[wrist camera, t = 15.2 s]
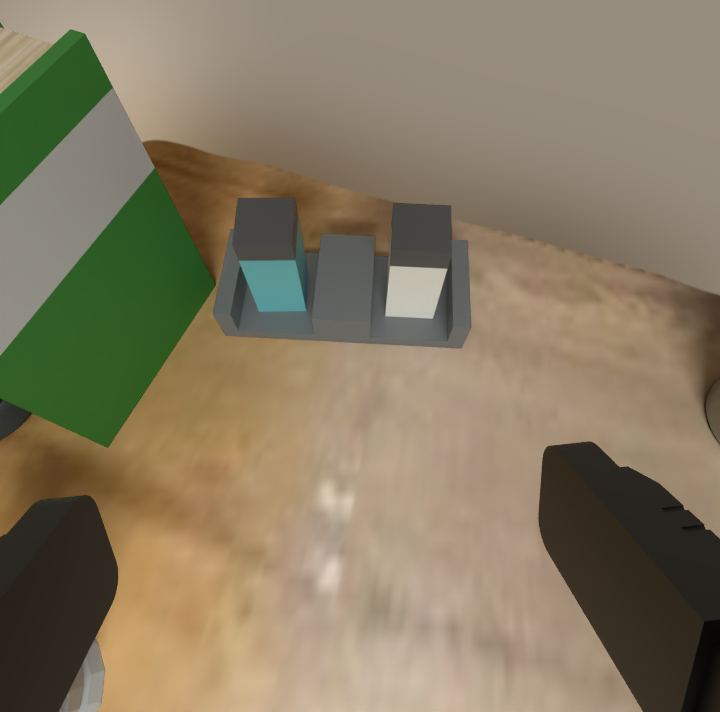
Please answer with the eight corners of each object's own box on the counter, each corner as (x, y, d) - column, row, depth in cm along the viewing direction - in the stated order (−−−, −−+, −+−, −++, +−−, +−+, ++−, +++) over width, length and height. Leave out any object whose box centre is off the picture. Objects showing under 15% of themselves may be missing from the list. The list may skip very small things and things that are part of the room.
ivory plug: (432, 278, 45) (450, 205, 36) (432, 318, 43) (451, 253, 34) (387, 276, 45) (393, 202, 36) (385, 316, 43) (391, 250, 34)
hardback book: (152, 259, 48) (-27, -1, 26) (215, 285, 46) (85, 33, 24) (38, 413, 41) (-334, 240, 19) (107, 447, 40) (-204, 304, 18)
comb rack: (459, 266, 47) (467, 240, 43) (461, 348, 43) (471, 327, 40) (241, 256, 48) (230, 229, 44) (225, 335, 44) (212, 313, 40)
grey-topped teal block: (308, 271, 45) (294, 197, 36) (306, 311, 44) (292, 244, 35) (262, 271, 45) (237, 198, 36) (259, 311, 44) (232, 244, 35)
